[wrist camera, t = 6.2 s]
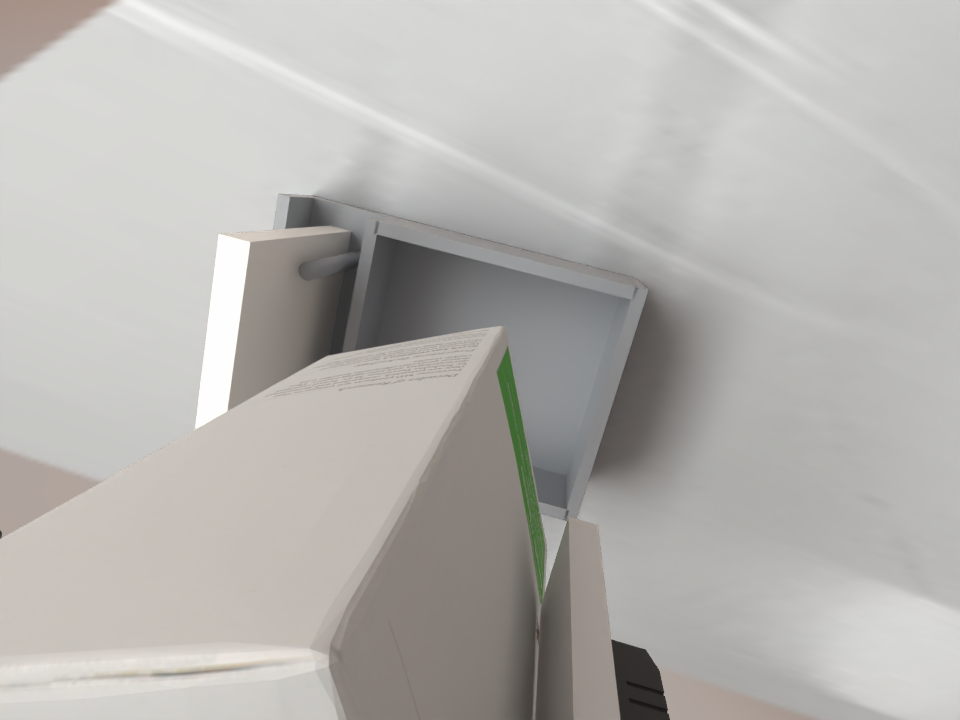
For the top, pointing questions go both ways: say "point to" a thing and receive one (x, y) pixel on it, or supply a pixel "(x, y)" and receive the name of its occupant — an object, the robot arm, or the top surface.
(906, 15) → the top surface
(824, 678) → the top surface
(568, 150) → the top surface
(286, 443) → the skincare box
